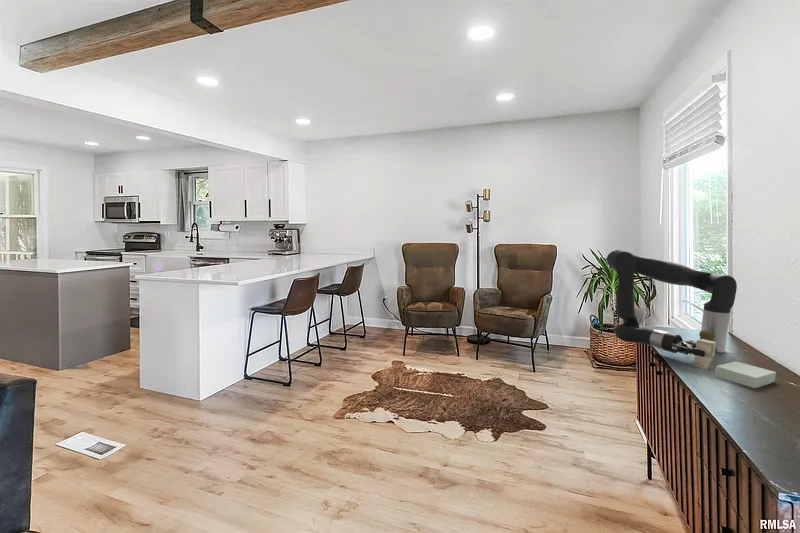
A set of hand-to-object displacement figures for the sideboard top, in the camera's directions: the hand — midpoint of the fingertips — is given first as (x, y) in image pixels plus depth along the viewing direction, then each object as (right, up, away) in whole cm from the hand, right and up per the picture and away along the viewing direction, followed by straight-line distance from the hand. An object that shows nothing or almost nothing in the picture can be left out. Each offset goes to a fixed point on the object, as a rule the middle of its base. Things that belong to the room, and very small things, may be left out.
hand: (710, 352), depth 157 cm
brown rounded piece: (+8, -5, +14) cm, 17 cm away
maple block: (-1, -6, +2) cm, 6 cm away
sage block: (+5, -8, -9) cm, 13 cm away
